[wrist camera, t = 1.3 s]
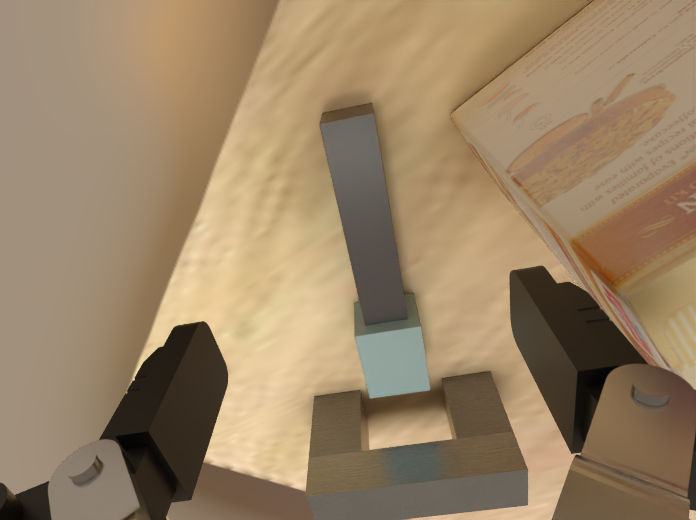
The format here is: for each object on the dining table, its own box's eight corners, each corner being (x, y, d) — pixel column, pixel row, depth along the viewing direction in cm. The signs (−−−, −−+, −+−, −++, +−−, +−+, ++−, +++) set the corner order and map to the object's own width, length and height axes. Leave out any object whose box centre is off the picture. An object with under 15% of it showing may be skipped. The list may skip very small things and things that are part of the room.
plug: (310, 115, 27) (304, 131, 23) (384, 100, 26) (389, 114, 23) (369, 366, 37) (371, 404, 33) (423, 358, 36) (431, 396, 33)
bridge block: (490, 371, 37) (527, 469, 29) (491, 404, 39) (527, 505, 31) (314, 396, 38) (305, 496, 31) (324, 427, 40) (318, 528, 33)
